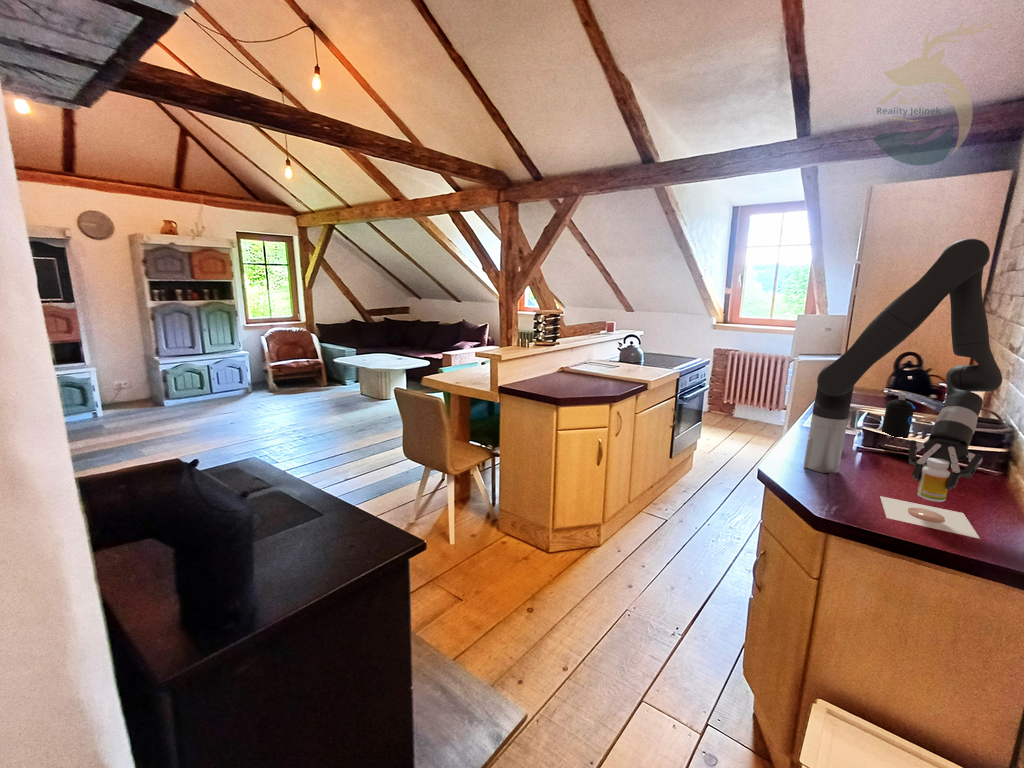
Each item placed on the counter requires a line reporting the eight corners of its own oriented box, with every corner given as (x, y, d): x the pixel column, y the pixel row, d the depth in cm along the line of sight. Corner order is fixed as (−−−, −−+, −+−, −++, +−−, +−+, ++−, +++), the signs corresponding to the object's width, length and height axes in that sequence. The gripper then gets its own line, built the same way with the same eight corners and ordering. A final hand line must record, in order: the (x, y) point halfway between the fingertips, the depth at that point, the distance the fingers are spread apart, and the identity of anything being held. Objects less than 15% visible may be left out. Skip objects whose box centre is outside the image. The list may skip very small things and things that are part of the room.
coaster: (909, 517, 118) (910, 515, 118) (905, 506, 124) (905, 505, 124) (947, 525, 114) (947, 523, 114) (940, 513, 120) (941, 512, 120)
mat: (886, 520, 117) (886, 517, 117) (879, 498, 130) (879, 496, 130) (979, 541, 108) (980, 538, 108) (962, 515, 121) (963, 513, 121)
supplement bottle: (951, 503, 115) (959, 465, 113) (925, 501, 116) (932, 463, 114) (936, 494, 120) (943, 457, 118) (912, 492, 121) (919, 455, 119)
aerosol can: (881, 449, 170) (892, 395, 166) (874, 442, 177) (884, 390, 173) (910, 453, 167) (922, 397, 163) (901, 446, 174) (912, 393, 170)
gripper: (916, 413, 124) (894, 466, 119) (993, 426, 113) (972, 486, 108) (918, 429, 128) (897, 481, 124) (992, 443, 117) (972, 501, 112)
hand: (932, 483), depth 116 cm, fingers closed on supplement bottle, 5 cm apart
